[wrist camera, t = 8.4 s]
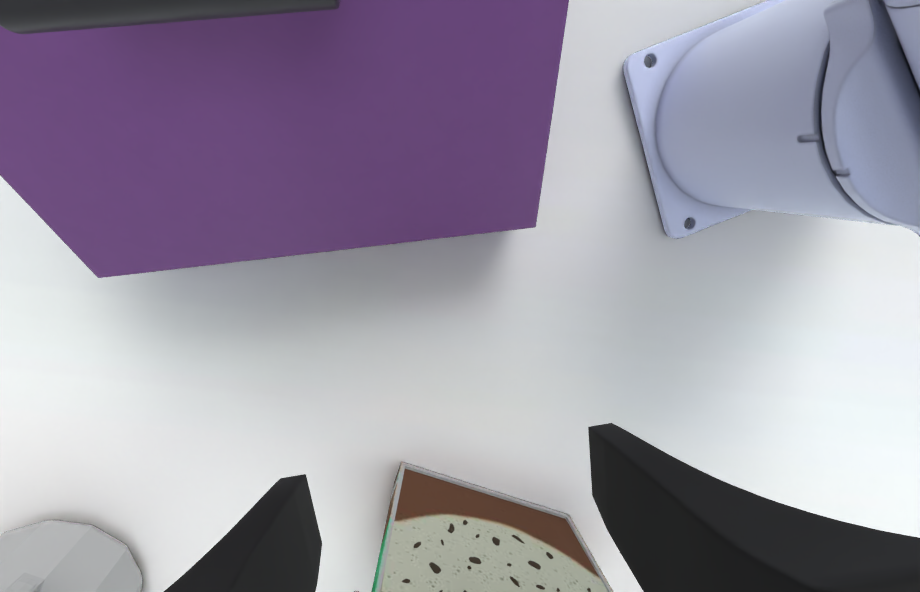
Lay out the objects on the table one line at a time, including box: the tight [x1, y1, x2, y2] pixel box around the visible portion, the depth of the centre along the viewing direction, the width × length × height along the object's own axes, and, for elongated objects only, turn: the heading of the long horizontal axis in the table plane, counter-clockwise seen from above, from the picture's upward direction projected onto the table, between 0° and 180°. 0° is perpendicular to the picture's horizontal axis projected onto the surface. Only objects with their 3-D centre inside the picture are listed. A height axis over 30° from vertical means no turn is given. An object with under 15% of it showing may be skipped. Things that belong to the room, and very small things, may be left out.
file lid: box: [0, 0, 569, 278], centre depth 11 cm, size 12×15×4 cm
